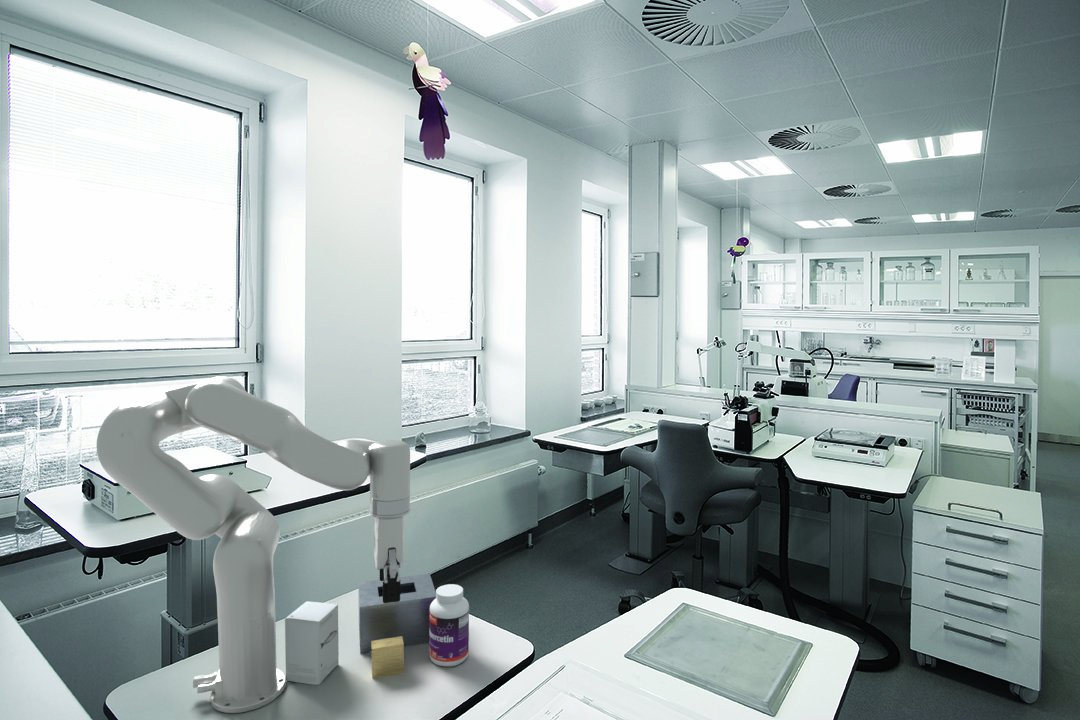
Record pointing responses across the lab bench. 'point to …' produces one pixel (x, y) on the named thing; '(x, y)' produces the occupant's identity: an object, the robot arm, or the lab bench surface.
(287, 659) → the supplement box
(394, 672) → the yellow wooden block
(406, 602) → the grey slotted box
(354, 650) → the lab bench surface
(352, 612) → the lab bench surface
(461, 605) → the pill bottle
